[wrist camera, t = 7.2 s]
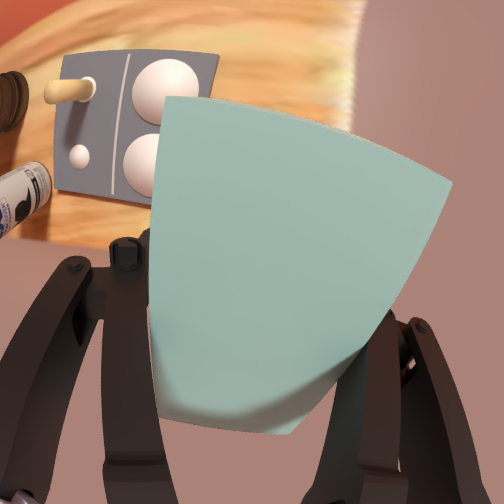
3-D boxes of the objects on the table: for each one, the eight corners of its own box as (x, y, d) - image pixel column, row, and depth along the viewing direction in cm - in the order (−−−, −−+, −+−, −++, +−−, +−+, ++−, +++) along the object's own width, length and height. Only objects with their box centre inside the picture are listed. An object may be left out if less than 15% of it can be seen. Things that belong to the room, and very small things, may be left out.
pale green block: (188, 301, 19) (158, 417, 11) (221, 99, 12) (166, 95, 4) (279, 317, 19) (288, 434, 12) (346, 131, 13) (452, 182, 5)
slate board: (58, 186, 28) (25, 207, 22) (68, 55, 20) (31, 53, 14) (190, 208, 30) (174, 237, 24) (219, 56, 22) (208, 42, 16)
